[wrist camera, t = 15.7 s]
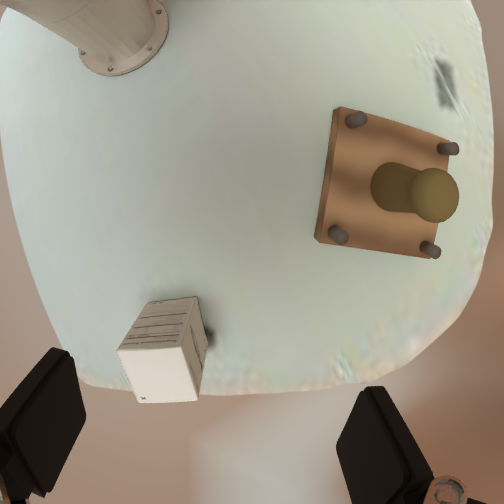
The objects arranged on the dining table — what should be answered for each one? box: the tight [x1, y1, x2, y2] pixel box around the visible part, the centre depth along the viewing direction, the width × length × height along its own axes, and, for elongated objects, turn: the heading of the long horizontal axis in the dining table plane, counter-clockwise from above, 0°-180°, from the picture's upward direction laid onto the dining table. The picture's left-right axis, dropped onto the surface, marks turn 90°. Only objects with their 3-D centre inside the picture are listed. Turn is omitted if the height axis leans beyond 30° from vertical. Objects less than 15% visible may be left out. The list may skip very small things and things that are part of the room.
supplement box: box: [117, 297, 208, 403], centre depth 35 cm, size 7×7×13 cm
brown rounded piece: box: [370, 162, 459, 223], centre depth 29 cm, size 6×6×11 cm
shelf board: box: [314, 107, 459, 259], centre depth 34 cm, size 16×16×6 cm
